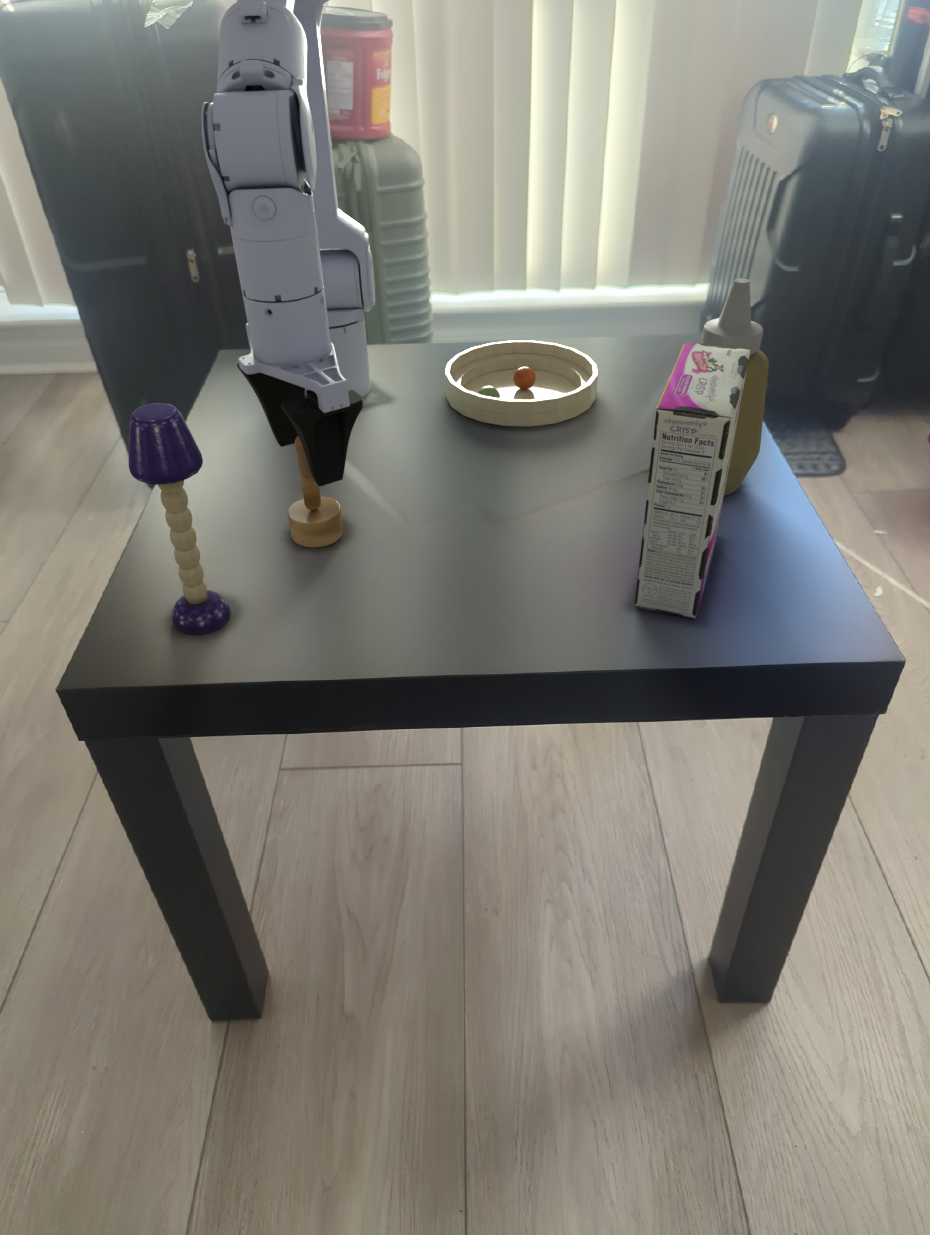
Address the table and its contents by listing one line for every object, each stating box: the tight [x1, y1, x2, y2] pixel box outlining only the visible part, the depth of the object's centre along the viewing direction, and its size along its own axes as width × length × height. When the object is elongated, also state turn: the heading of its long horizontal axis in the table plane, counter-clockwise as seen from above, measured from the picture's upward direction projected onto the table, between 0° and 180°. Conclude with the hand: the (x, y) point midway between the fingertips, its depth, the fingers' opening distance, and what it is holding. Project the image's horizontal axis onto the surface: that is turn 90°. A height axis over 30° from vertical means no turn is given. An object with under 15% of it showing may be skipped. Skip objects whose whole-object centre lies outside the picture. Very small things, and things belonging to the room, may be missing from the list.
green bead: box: [478, 386, 500, 398], centre depth 88 cm, size 2×2×2 cm
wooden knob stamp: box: [287, 436, 344, 548], centre depth 70 cm, size 4×4×9 cm
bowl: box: [444, 340, 599, 427], centre depth 91 cm, size 16×16×4 cm
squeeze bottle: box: [700, 277, 770, 497], centre depth 72 cm, size 8×8×18 cm
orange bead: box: [513, 367, 536, 390], centre depth 92 cm, size 2×2×2 cm
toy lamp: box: [128, 402, 232, 635], centre depth 59 cm, size 5×5×17 cm
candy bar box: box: [634, 342, 750, 619], centre depth 62 cm, size 11×5×16 cm, turn 160°
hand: (309, 461), depth 69 cm, fingers open, 7 cm apart
